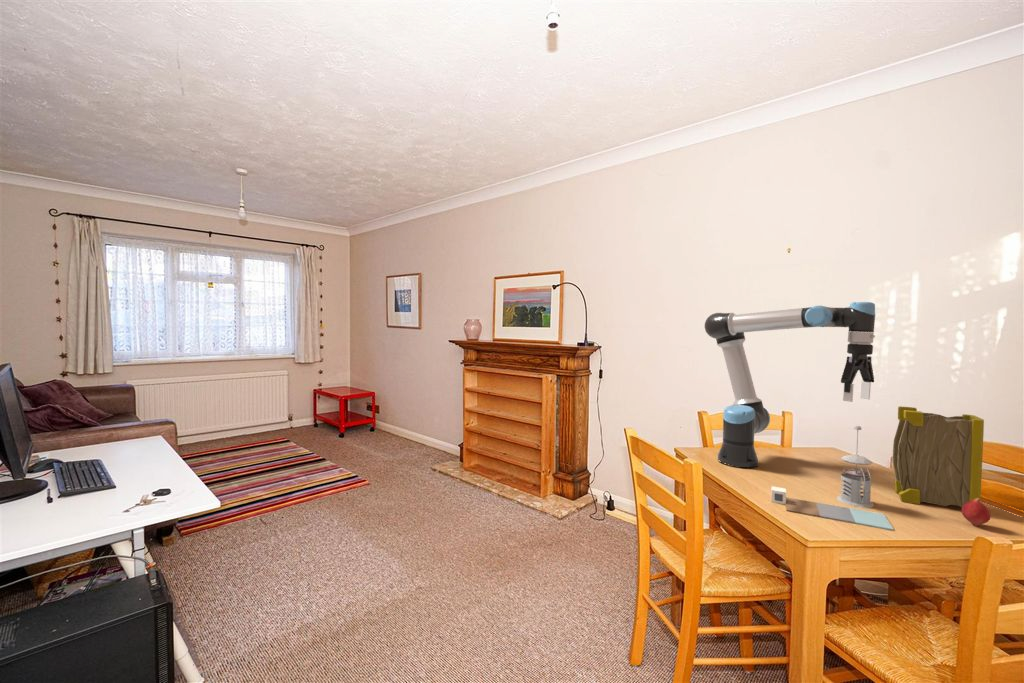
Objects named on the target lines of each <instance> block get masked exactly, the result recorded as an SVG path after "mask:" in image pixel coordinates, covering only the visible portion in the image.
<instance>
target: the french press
mask: <svg viewBox="0 0 1024 683" xmlns="http://www.w3.org/2000/svg"><path fill="white" fill-rule="evenodd" d="M853 430H857V431H856V454H848V455H843V456H842V457H841V458H840V460H842V461H843V462H845V463H849V464H851V465H852V464H853V465H855V469H854V468H843V469H842V473H841V475H840V495H838V496H837V497H836V500H837V501H838V502H840V503H842V504H845V505H848V506H851V507H852V506H853V507H856V508H861V509H862V508H863V509H864V508H865V509H866V508H867V509H870V508H874V506H875V505H874V503H873V502H872V501H871V488H872V477H871V473H870V471H869V469H868V468H865V471H864V470H863V469H862V468H859V469H858V466H870V465H872V464H873V462H872V461H871V460H870V459H869V458H867V457H864V456H863V455H859V454H858V444H859V442H858V441H859V431H862V427H861V426H860V425H855V426H854V428H853ZM861 494H862V495H861Z"/></svg>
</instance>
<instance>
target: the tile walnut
mask: <svg viewBox="0 0 1024 683" xmlns="http://www.w3.org/2000/svg"><path fill="white" fill-rule="evenodd" d="M816 502H817V501H816ZM816 502H815V501H811V500H804V499H799V498H792V497H788V496H786V505H785V509H786V512H790V513H797V514H802V515H807V516H810V517H811V516H813V517H817V518H821V517H820V514H819V511H818V507H817V504H816Z"/></svg>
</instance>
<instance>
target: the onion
mask: <svg viewBox="0 0 1024 683" xmlns="http://www.w3.org/2000/svg"><path fill="white" fill-rule="evenodd" d="M961 514H962V516H963V518H965V520H966V521H968V522H969V523H970V524H972V525H973V526H975V527H980V526H981V525H983V524H986V523H988V522H989V521H990V520H991V517H992V516H991V511H990V510H989V508H988V507H987V506H986V505H985V504H983V502H981V499H980V500H979V499H978V498H976V499H974V500H972V501H969V502H967V503H965V504H964V505H963V506H962V507H961Z"/></svg>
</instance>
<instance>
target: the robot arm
mask: <svg viewBox="0 0 1024 683" xmlns="http://www.w3.org/2000/svg"><path fill="white" fill-rule="evenodd" d="M875 320H876V304H875V303H874V302H872V301H871V302H870V301H869V302H868V301H857V302H856V301H854V302H853V301H852V302H851V303H849V306H847V307H832V306H831V307H830V306H824V305H814V306H811V307H799V308H798V307H797V308H790V309H780V310H779V309H778V310H772V311H770V310H769V311H761V312H750V313H741V314H735V313H734V312H715V313H712V314H710V315H709V316H708V317H707V318H706V320H705V322H704V329H705V330H704V331H705V333H706V334H707V335H708V336H709V337H710V338H713V339H715V340H716V345H717V346H718V347H720V348H721V349H722V352H723V357H724V361H725V364H726V370H727V372H728V376H729V380H730V383H731V384H730V385H731V388H732V392H733V396H734V402H733V404H732V405H728V406H726V407H725V408H724V409H723V414H722V421H723V422H722V426H723V427H722V444H721V446H720V449H719V451H718V453H717V461H718V460H720V461H721V462H723V463H726V464H729V465H733V466H738V467H737V468H740V467H748V468H747V469H750V468H749V467H754V468H757V467H758V466H759V458H758V455H757V451H756V449H755V434H758V433H761V432H763V431H765V429H767V428H768V426H769V425H770V422H771V417H770V413H769V411H768V410H767V409H766V408H765V407H764V404H763V401H762V399H760V398H759V397H758V396H757V393H756V388H755V385H754V381H753V378H752V374H751V370H750V366H749V363H748V359H747V356H746V351H745V348H744V347H745V346H744V343H745V341H746V337H745V333H750V332H751V333H753V332H763V331H775V330H776V331H777V330H789V329H791V330H792V329H793V330H794V329H802V328H848V332H847V333H848V334H847V342H848V344H847V345H846V346H847V350H846V353H847V354H848V355H849V354H850V355H851V356H847V357H846V361H845V365H844V368H843V372H842V375H841V379H840V383H841V384H843V395H842V396H843V398H842V400H843V401H844V402H850V403H853V400H854V399H853V398H854V387H855V386H854V385H855V384H854V383H853V382H854V380H855V378H856V376H857V373H858V372H859V373H860V376H861V378H862V379H861V380H862V381H861V383H860V384H861V385H860V399H861V400H862V399H863V400H868V401H869V400H871V399H870V398H871V386H872V383H875V376H874V371H873V370H874V369H873V364H872V356H871V355H873V350H874V345H873V343H874V338H875V337H876V335H875V334H874V333H875V325H876V324H875V323H876V322H875ZM868 355H869V356H868ZM729 465H728V466H729ZM733 466H732V467H733ZM756 466H757V467H756Z"/></svg>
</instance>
